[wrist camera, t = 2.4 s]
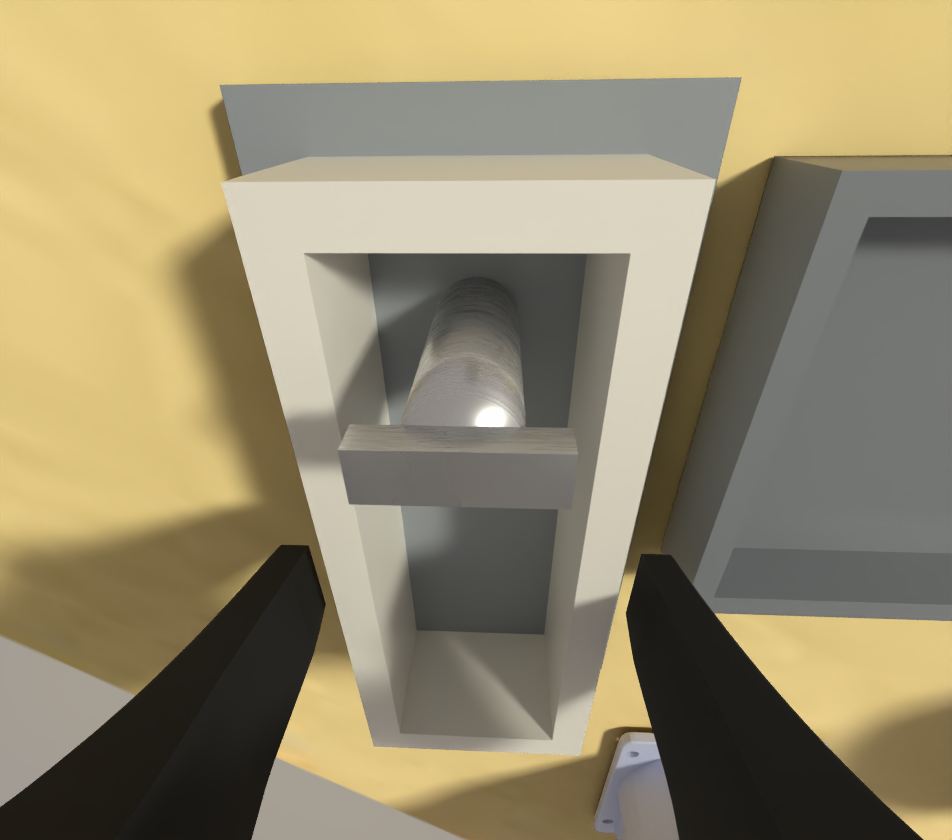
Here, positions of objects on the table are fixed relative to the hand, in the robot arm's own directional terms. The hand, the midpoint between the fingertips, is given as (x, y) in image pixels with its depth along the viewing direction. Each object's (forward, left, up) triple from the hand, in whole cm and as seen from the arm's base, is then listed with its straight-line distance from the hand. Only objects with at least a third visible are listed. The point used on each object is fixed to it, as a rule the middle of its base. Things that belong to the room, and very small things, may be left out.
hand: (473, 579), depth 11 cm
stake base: (+1, 0, -3) cm, 3 cm away
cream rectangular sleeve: (+1, 0, -2) cm, 2 cm away
